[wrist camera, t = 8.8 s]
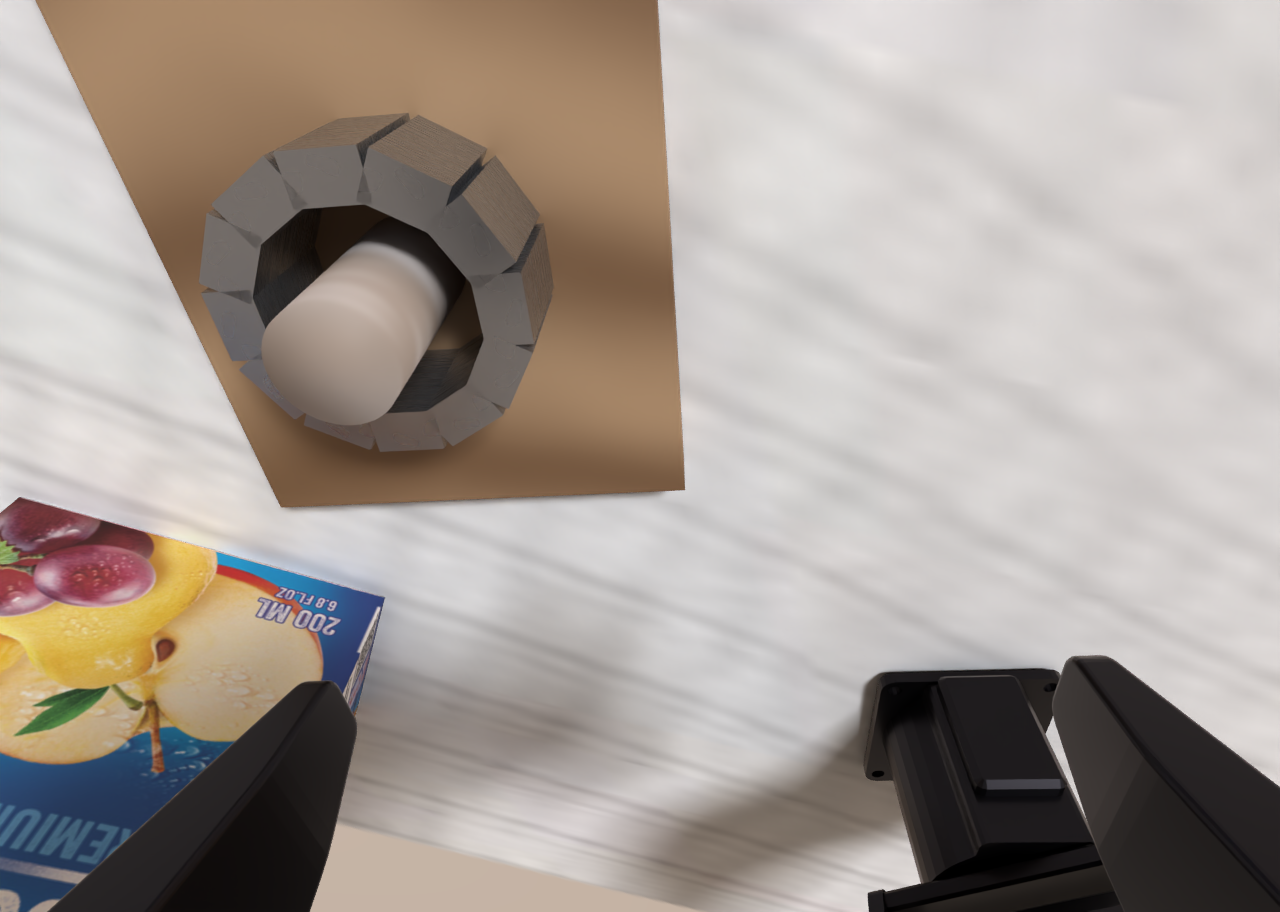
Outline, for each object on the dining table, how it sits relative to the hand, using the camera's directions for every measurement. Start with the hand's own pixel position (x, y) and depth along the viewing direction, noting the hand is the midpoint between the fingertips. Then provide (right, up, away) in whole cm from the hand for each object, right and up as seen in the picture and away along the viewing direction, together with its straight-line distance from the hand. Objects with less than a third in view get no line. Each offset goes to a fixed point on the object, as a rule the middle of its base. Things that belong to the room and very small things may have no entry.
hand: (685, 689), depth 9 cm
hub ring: (-6, +7, +8) cm, 12 cm away
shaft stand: (-6, +8, +9) cm, 13 cm away
